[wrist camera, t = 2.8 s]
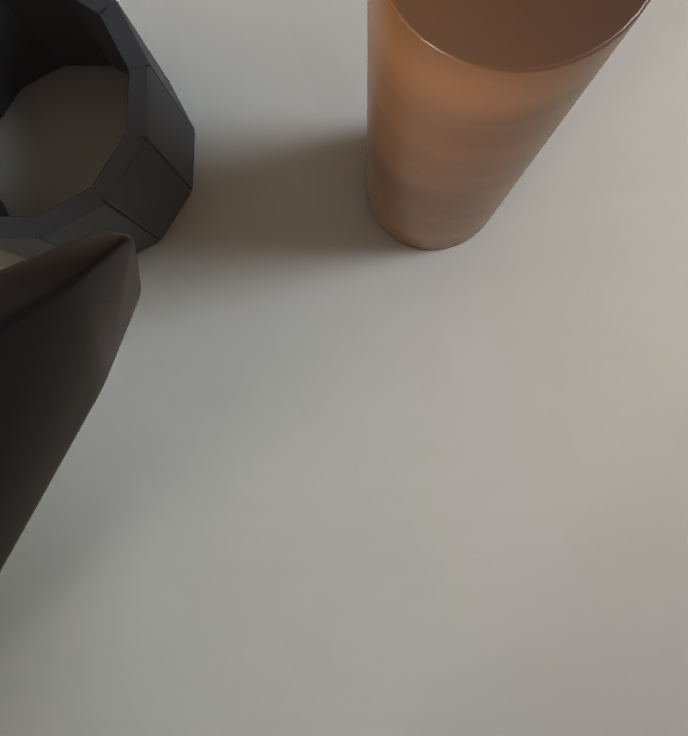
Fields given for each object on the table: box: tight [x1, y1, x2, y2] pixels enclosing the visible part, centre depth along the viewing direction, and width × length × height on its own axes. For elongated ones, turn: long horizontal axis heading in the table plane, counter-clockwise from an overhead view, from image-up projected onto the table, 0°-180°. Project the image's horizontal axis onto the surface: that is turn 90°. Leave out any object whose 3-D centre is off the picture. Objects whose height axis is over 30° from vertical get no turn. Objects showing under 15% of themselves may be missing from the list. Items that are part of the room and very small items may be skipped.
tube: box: [0, 0, 195, 259], centre depth 19 cm, size 8×8×4 cm
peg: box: [367, 0, 650, 250], centre depth 15 cm, size 4×4×12 cm
